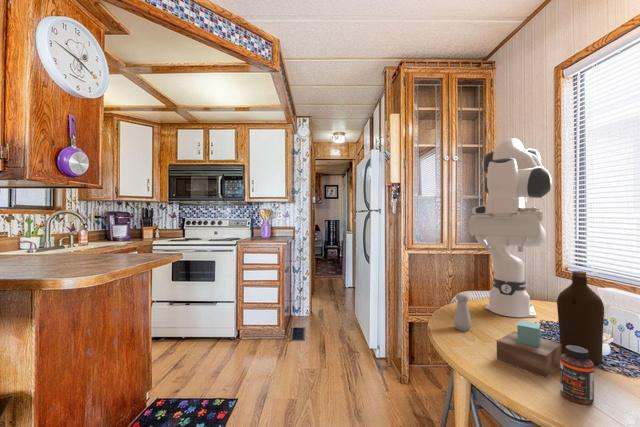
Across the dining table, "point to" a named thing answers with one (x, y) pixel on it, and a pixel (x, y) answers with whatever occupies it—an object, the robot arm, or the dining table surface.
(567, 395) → the supplement bottle
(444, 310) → the dining table surface
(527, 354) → the walnut block
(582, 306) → the olive oil
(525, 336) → the teal cube
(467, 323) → the salt shaker
